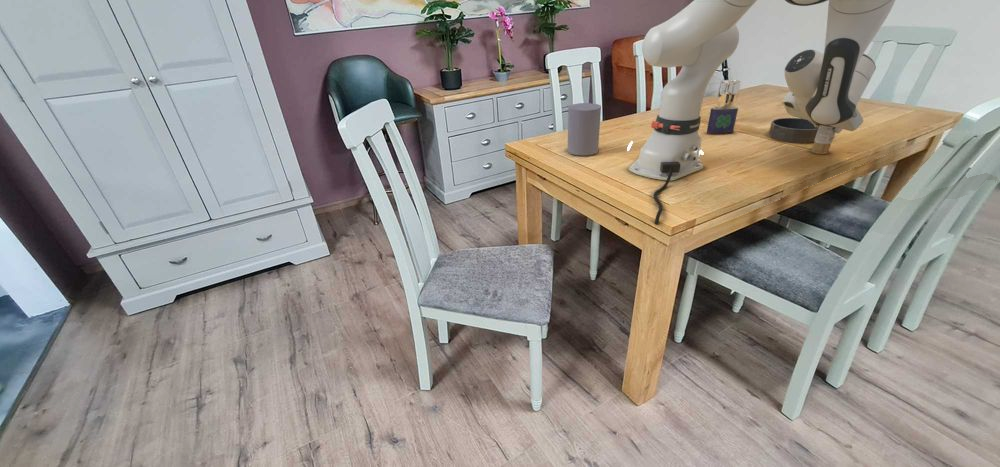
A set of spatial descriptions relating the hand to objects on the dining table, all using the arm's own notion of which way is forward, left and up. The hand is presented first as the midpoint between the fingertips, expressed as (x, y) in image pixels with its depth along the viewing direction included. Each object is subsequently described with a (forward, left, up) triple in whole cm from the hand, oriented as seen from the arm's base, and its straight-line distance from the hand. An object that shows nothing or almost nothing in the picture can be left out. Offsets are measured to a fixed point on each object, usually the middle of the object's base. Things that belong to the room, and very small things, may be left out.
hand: (828, 128), depth 124 cm
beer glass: (+19, +36, -7) cm, 42 cm away
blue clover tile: (+3, +31, -7) cm, 32 cm away
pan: (+12, +10, -7) cm, 18 cm away
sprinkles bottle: (-1, 0, -7) cm, 8 cm away
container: (-42, +59, -7) cm, 73 cm away
